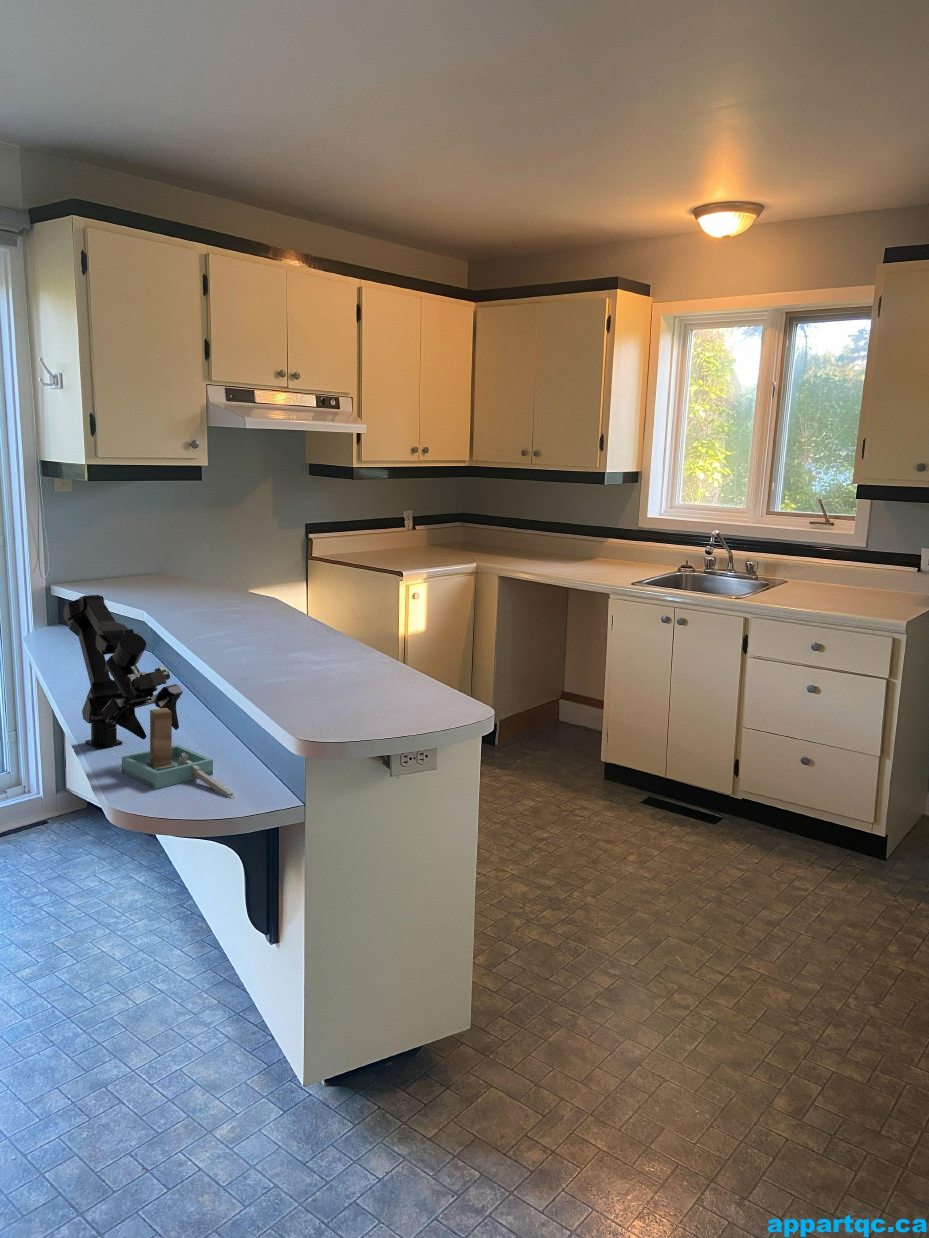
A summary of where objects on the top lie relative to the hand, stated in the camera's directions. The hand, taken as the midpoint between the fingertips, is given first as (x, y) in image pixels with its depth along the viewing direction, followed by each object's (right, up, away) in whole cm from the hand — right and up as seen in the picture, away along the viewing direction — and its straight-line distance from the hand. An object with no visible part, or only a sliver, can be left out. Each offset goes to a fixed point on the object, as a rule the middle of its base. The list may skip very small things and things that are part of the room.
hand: (161, 733), depth 197 cm
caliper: (+12, -12, -5) cm, 17 cm away
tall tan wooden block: (0, -8, 0) cm, 8 cm away
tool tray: (+1, -9, 0) cm, 9 cm away
